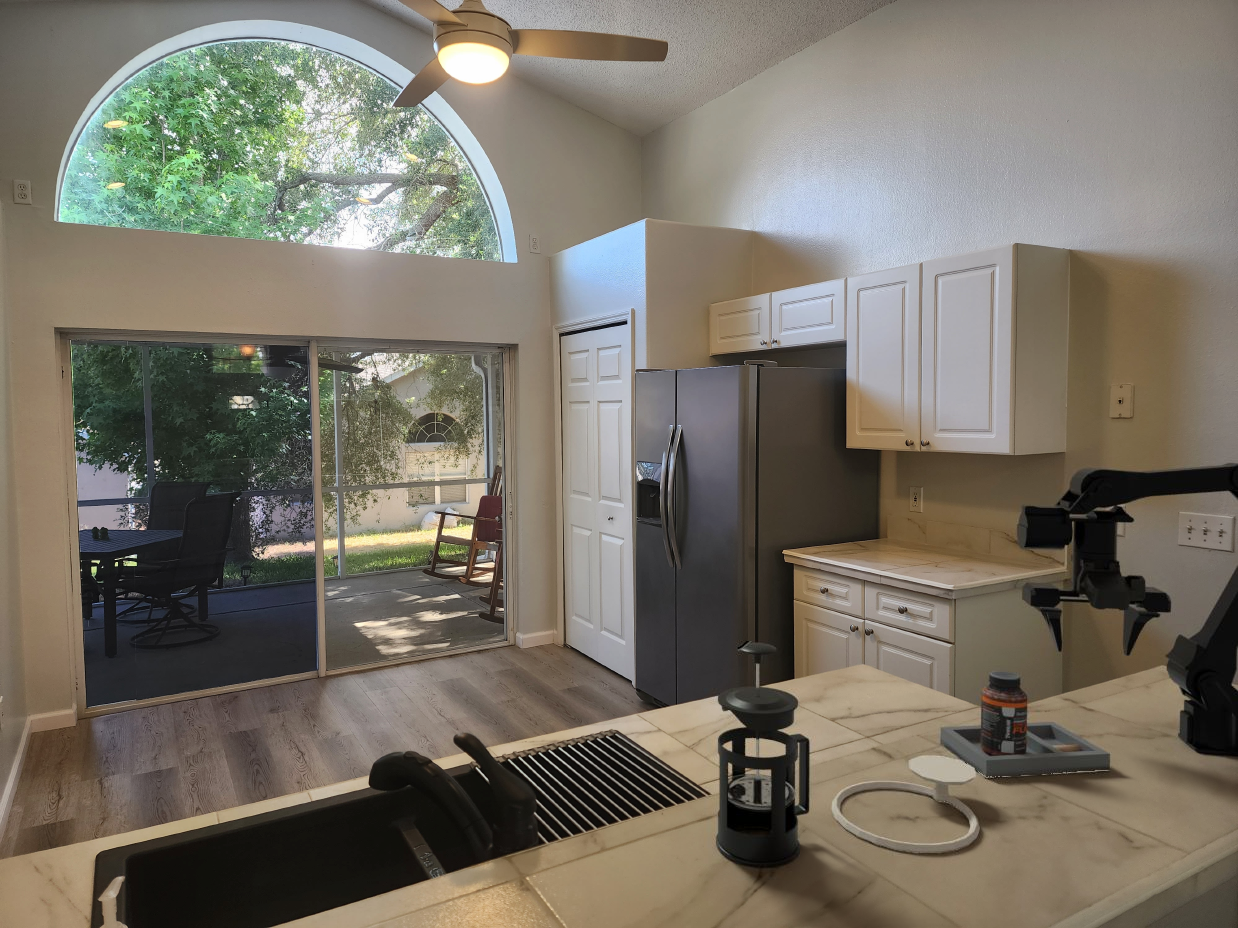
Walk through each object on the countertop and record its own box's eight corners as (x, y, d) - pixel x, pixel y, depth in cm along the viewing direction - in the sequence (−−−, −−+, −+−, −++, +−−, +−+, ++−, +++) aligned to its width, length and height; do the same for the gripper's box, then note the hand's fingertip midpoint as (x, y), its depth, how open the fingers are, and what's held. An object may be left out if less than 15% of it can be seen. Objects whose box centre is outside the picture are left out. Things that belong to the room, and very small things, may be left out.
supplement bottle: (1020, 764, 108) (1021, 683, 108) (975, 753, 112) (976, 675, 112) (1031, 751, 113) (1032, 673, 112) (987, 740, 117) (988, 665, 116)
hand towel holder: (802, 777, 98) (904, 739, 109) (802, 812, 98) (904, 770, 109) (923, 833, 84) (1025, 783, 95) (923, 873, 84) (1024, 818, 96)
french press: (736, 876, 83) (736, 661, 82) (696, 834, 92) (696, 639, 91) (829, 854, 87) (830, 650, 86) (783, 816, 96) (783, 630, 95)
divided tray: (1052, 737, 120) (1052, 721, 120) (1109, 771, 108) (1110, 753, 108) (940, 743, 118) (940, 727, 118) (986, 778, 106) (986, 760, 106)
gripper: (1041, 557, 113) (1040, 664, 114) (1190, 561, 109) (1187, 673, 109) (1021, 546, 124) (1020, 644, 125) (1155, 550, 120) (1153, 651, 120)
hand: (1092, 653), depth 119 cm, fingers open, 9 cm apart
